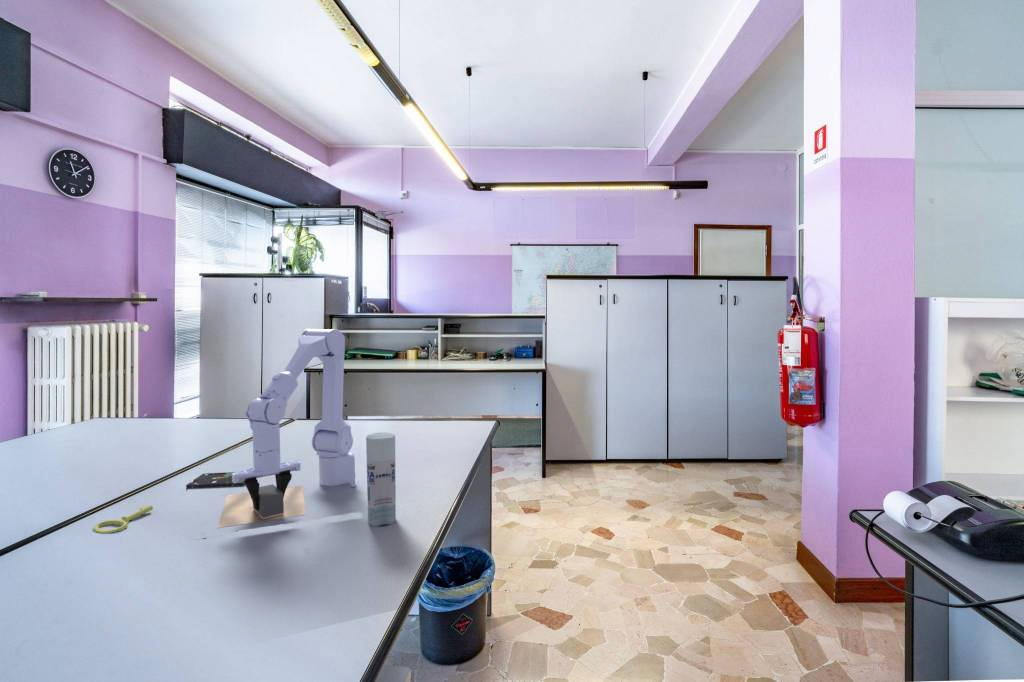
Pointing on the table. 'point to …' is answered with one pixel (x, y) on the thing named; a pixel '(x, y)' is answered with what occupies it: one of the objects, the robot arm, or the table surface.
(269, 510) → the block
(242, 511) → the oak board
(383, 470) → the spray paint can
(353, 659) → the table surface
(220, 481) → the disk drive
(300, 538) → the table surface
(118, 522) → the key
